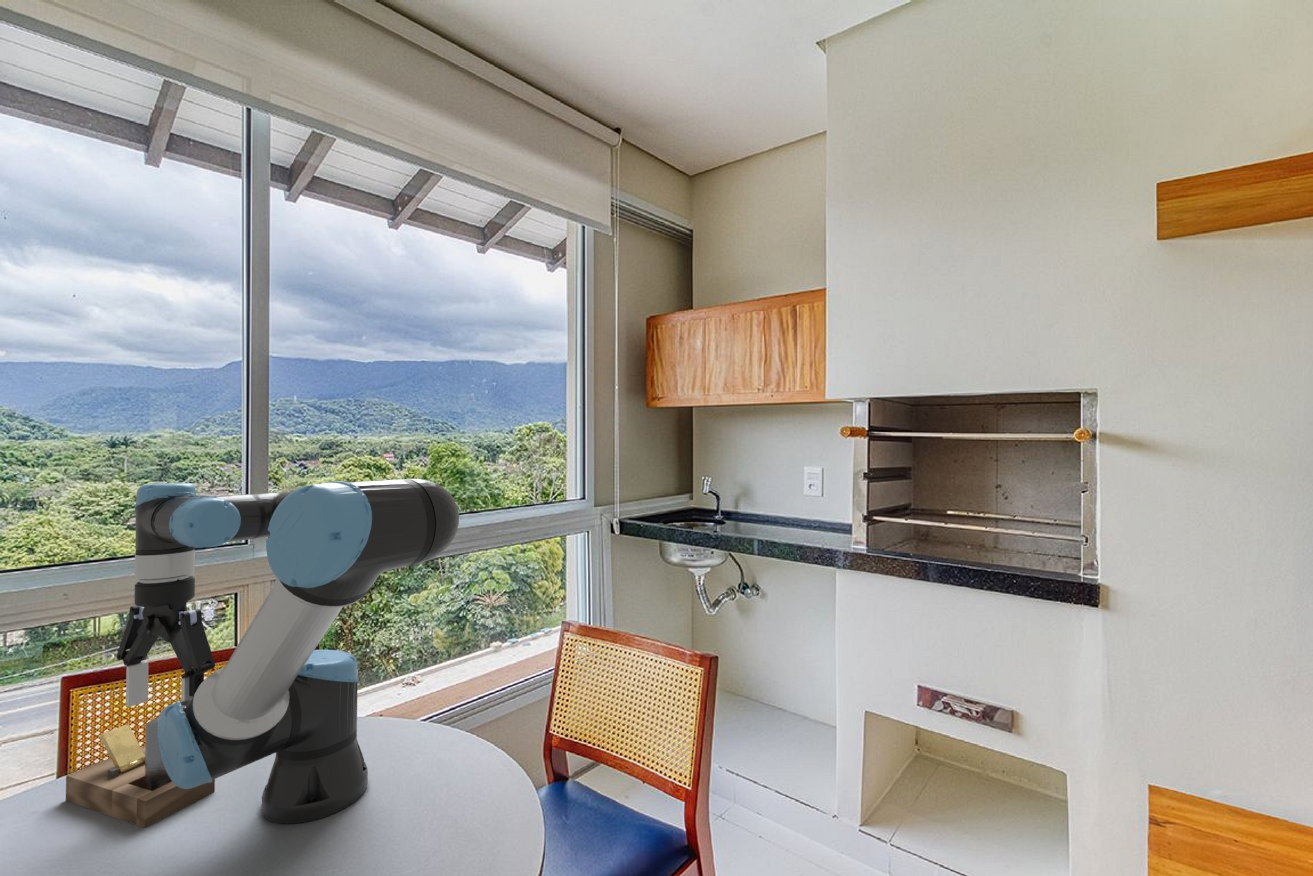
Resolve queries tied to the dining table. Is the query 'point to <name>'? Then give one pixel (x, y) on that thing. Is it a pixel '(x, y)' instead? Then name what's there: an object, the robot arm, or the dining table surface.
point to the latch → (123, 748)
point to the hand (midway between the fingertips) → (163, 709)
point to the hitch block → (128, 793)
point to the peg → (154, 759)
